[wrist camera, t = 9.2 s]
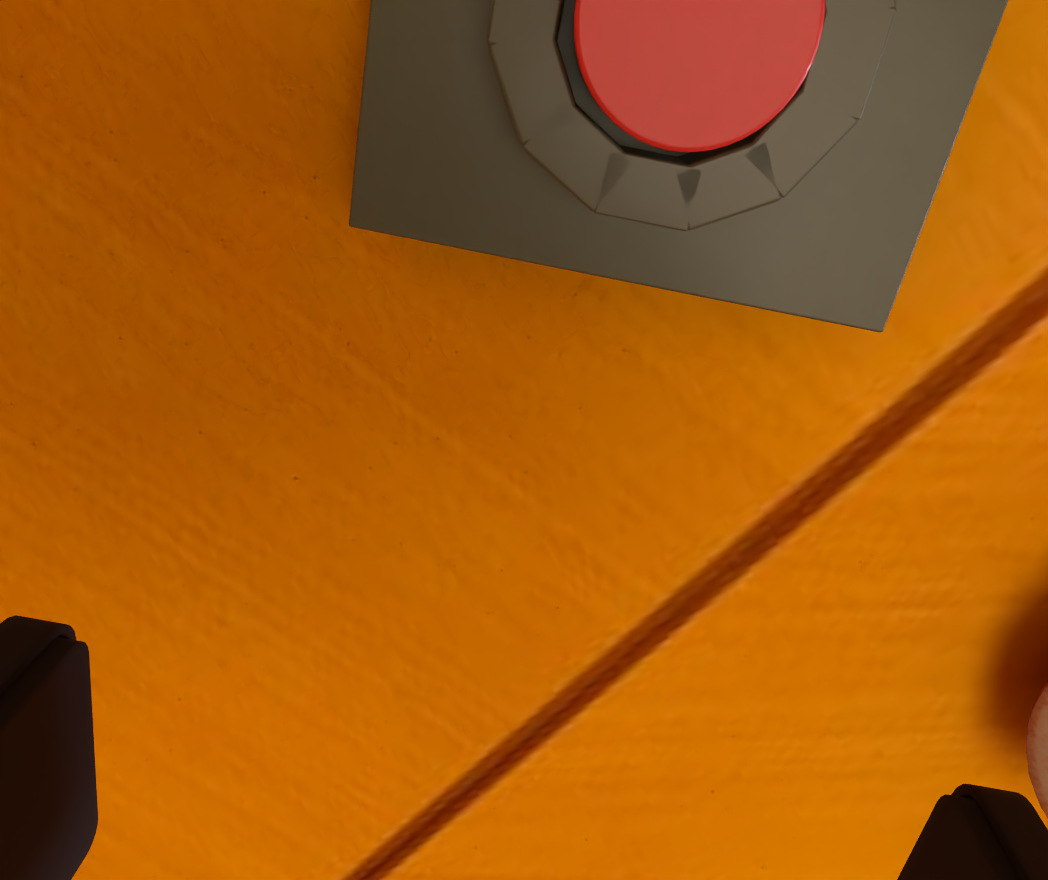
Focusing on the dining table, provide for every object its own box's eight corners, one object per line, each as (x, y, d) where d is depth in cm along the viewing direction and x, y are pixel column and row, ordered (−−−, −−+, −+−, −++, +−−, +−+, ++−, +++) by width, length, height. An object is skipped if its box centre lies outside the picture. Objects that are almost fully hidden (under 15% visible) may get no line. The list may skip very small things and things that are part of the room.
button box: (371, 211, 20) (324, 241, 16) (427, -311, 16) (383, -424, 12) (852, 308, 20) (913, 359, 17) (1028, -180, 16) (1159, -255, 13)
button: (554, 122, 16) (551, 127, 14) (600, -127, 14) (604, -153, 12) (760, 163, 16) (781, 173, 14) (831, -79, 14) (863, -98, 13)
